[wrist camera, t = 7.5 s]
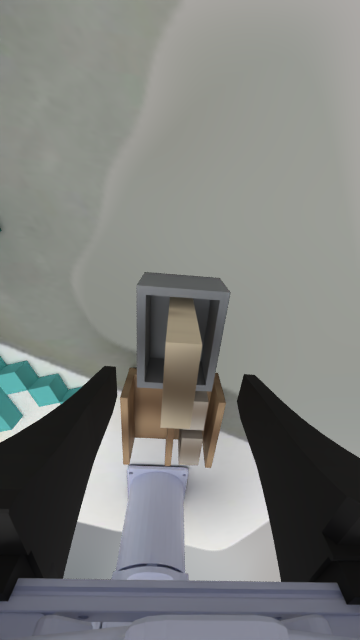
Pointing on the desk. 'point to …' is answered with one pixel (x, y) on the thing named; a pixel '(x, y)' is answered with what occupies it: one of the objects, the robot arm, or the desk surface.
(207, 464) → the oak rack
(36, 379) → the alien figure
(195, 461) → the block
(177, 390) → the birch sheet
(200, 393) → the offcut short
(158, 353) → the grey bin
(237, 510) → the desk surface
